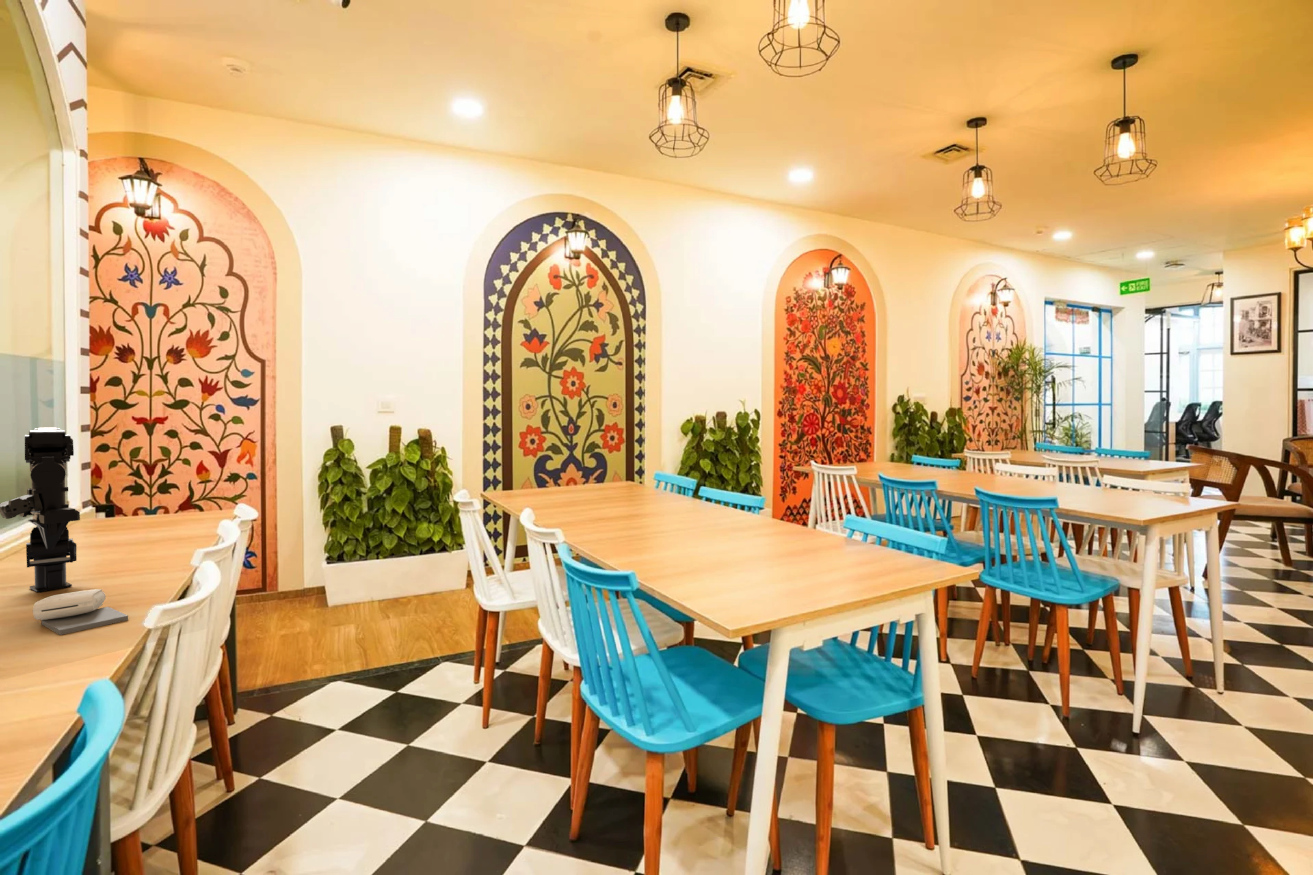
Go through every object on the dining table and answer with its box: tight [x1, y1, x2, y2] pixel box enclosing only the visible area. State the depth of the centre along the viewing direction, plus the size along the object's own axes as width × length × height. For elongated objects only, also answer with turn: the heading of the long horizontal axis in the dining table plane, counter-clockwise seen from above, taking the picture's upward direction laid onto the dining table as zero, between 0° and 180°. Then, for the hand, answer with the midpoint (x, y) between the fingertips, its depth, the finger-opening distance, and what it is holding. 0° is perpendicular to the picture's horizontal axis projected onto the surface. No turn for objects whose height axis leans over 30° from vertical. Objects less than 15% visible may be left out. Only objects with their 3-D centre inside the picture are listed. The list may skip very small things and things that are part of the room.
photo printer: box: [32, 588, 107, 621], centre depth 136 cm, size 10×4×12 cm
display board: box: [41, 606, 129, 636], centre depth 133 cm, size 11×11×1 cm
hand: (50, 548), depth 148 cm, fingers closed
